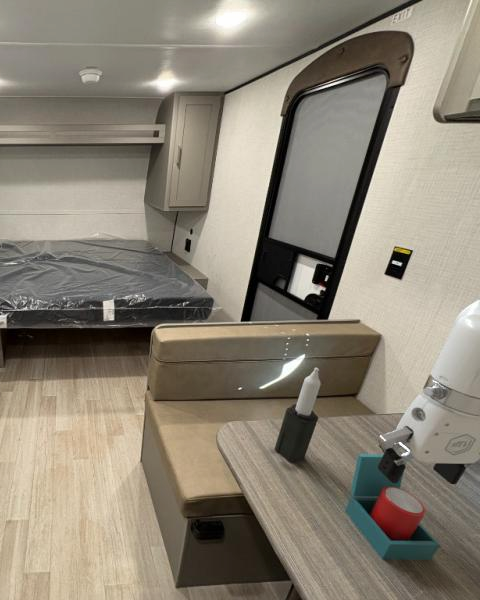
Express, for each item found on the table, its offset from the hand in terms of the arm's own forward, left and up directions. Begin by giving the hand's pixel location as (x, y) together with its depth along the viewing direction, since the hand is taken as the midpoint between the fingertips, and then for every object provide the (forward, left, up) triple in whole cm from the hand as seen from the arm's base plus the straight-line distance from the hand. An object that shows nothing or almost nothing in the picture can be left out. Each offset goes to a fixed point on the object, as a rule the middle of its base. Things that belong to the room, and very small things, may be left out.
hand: (415, 476), depth 54 cm
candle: (+11, -16, -16) cm, 25 cm away
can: (0, 0, -15) cm, 15 cm away
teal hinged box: (0, 0, -16) cm, 16 cm away
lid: (+1, -5, -6) cm, 8 cm away
